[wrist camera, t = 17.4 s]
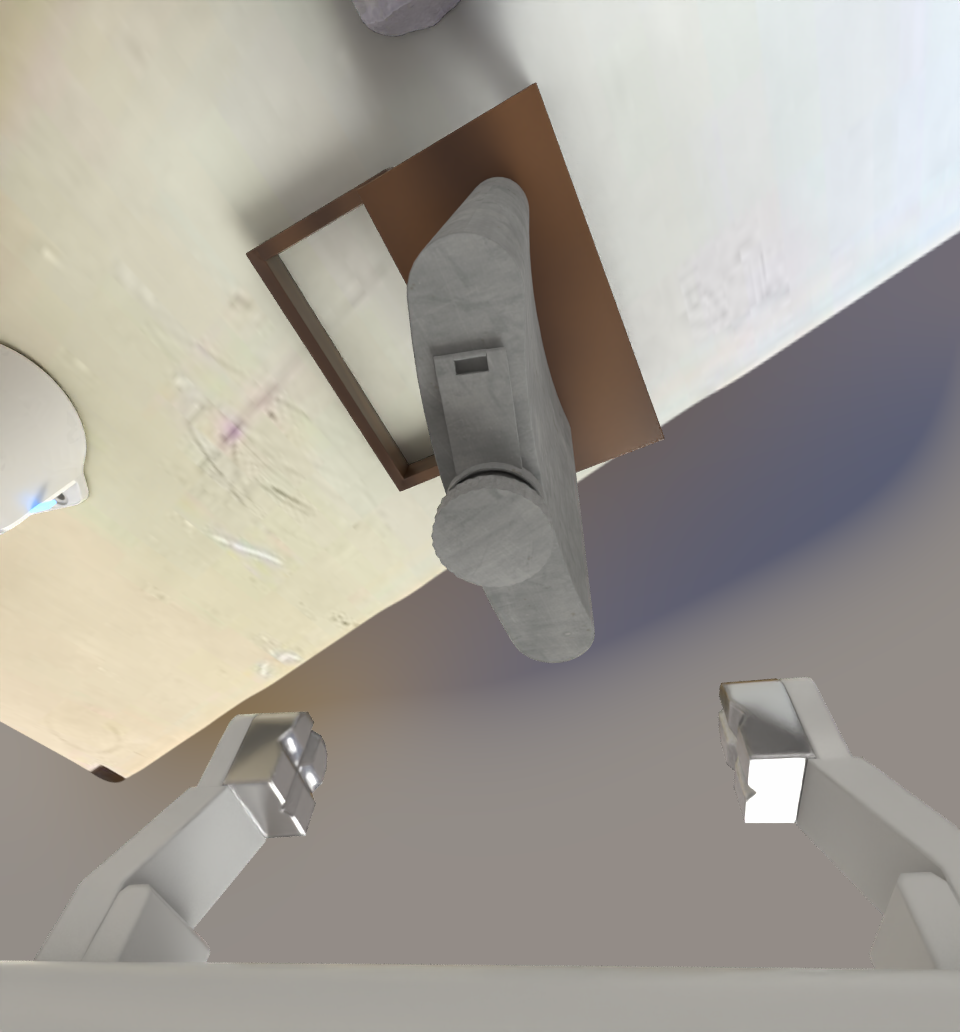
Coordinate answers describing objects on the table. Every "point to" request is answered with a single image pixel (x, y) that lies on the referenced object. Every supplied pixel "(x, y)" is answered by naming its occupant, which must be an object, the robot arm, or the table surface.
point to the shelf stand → (554, 267)
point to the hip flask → (499, 426)
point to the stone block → (401, 14)
